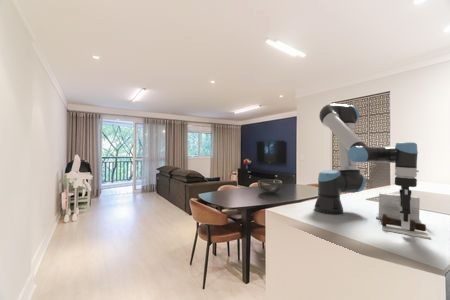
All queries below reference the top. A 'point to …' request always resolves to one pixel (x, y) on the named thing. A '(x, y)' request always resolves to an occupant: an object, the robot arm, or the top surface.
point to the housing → (397, 206)
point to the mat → (406, 231)
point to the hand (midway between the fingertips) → (404, 224)
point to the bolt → (397, 222)
